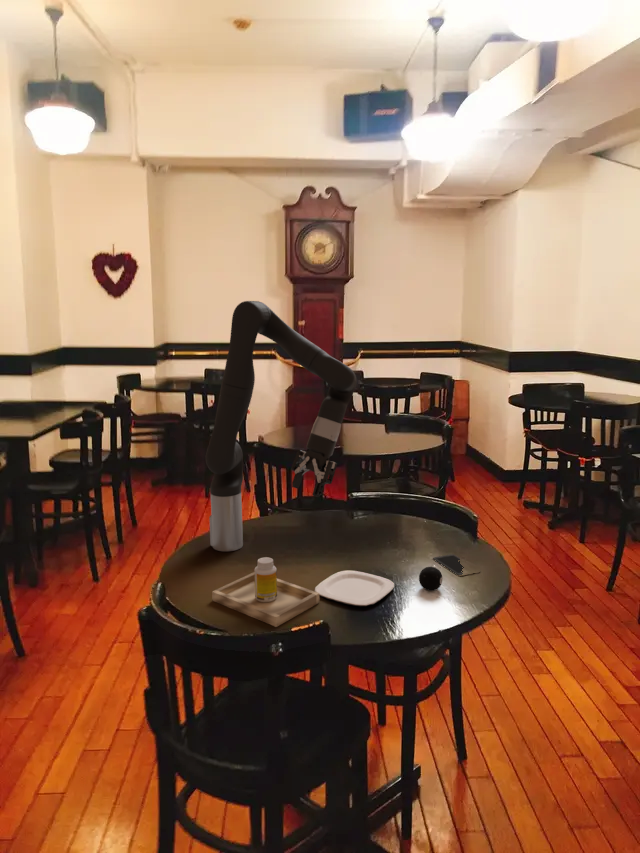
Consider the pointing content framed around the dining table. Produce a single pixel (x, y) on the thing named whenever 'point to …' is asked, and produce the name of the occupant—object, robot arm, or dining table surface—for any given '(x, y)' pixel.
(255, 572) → the supplement bottle
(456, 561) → the cell phone
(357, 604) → the plate
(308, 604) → the serving tray
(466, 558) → the dining table surface
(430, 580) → the billiard ball
